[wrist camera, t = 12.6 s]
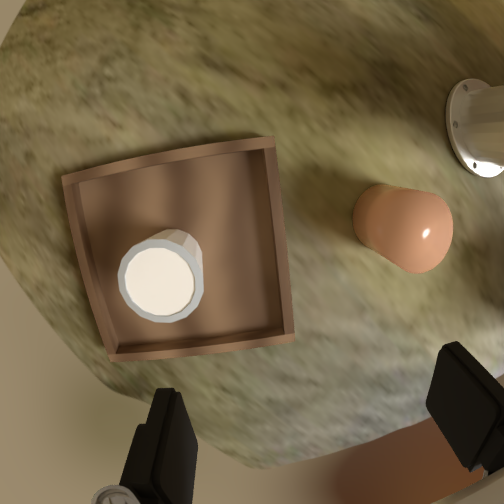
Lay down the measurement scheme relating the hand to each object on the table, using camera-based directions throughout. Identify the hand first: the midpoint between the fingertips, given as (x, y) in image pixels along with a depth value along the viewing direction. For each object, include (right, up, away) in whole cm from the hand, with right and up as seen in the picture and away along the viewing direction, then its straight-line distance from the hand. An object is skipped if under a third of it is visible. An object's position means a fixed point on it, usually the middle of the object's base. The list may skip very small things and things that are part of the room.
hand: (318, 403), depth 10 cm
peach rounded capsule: (+11, +9, +22) cm, 26 cm away
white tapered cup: (-10, +5, +20) cm, 23 cm away
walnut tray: (-9, +5, +21) cm, 23 cm away
